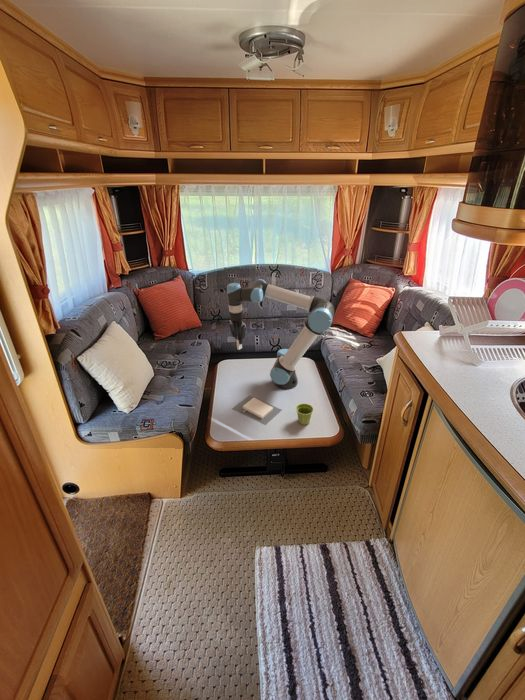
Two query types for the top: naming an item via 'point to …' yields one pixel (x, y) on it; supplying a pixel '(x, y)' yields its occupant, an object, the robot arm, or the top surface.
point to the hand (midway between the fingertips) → (239, 348)
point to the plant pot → (304, 413)
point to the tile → (258, 408)
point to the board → (264, 421)
